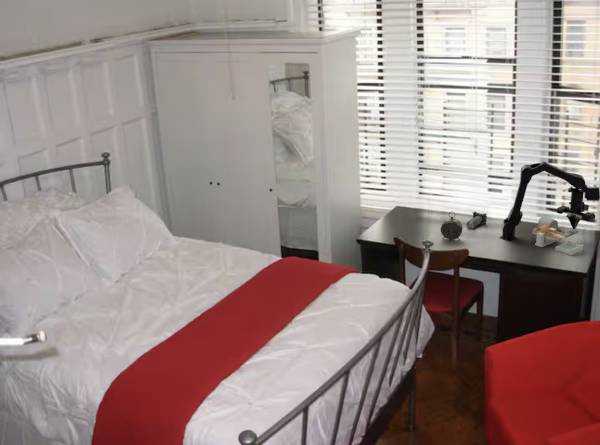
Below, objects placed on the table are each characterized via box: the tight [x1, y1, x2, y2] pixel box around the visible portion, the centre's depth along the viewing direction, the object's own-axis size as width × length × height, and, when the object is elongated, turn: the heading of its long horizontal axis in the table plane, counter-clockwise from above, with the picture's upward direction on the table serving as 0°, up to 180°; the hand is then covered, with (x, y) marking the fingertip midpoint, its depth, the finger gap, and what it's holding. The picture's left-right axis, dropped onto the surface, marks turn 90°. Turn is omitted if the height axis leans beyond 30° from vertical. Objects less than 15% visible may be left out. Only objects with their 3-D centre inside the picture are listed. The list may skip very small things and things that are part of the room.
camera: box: [466, 211, 488, 230], centre depth 385 cm, size 9×8×12 cm
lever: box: [531, 226, 579, 242], centre depth 359 cm, size 18×15×5 cm
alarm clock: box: [440, 211, 464, 242], centre depth 365 cm, size 11×5×16 cm, turn 71°
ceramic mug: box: [537, 215, 559, 230], centre depth 374 cm, size 11×8×8 cm
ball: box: [541, 225, 549, 233], centre depth 356 cm, size 4×4×4 cm
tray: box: [554, 240, 584, 257], centre depth 347 cm, size 10×9×3 cm
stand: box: [534, 228, 557, 248], centre depth 357 cm, size 12×4×6 cm, turn 126°
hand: (574, 229), depth 357 cm, fingers closed
